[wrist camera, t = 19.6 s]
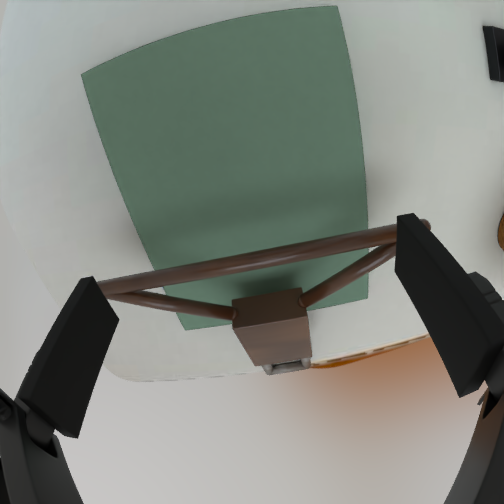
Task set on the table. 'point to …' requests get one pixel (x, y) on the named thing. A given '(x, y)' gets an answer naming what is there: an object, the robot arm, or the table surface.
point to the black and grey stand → (495, 52)
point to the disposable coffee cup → (501, 233)
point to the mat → (238, 150)
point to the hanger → (265, 305)
